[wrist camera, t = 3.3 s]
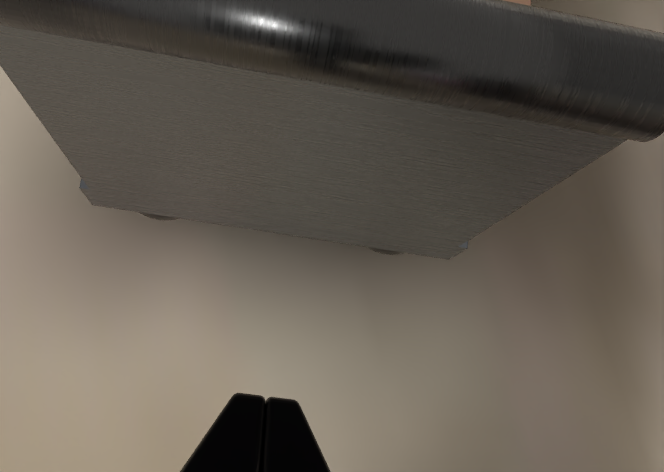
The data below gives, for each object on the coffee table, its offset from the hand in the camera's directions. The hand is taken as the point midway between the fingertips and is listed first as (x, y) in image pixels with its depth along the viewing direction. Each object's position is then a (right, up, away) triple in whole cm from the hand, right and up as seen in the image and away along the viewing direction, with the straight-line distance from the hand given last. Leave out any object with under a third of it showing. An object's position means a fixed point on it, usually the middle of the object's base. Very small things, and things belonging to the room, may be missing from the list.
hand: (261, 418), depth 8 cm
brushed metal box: (0, +6, +9) cm, 11 cm away
